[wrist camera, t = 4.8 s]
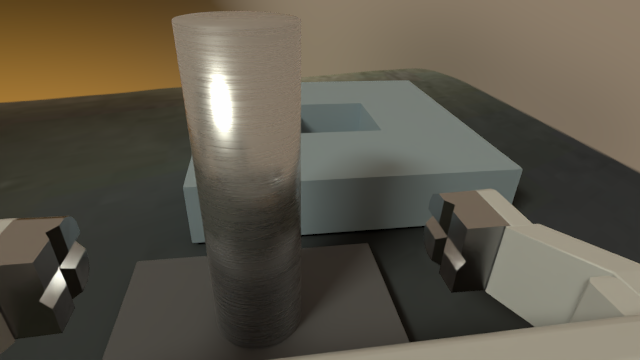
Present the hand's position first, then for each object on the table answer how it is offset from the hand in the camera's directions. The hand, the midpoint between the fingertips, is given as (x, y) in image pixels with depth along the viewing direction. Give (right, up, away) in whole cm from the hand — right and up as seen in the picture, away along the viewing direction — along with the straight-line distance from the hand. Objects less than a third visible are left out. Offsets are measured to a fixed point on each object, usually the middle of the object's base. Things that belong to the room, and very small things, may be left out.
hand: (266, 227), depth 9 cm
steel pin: (-1, -4, +5) cm, 6 cm away
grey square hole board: (+2, +2, +17) cm, 17 cm away
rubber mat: (-1, -4, +5) cm, 7 cm away
